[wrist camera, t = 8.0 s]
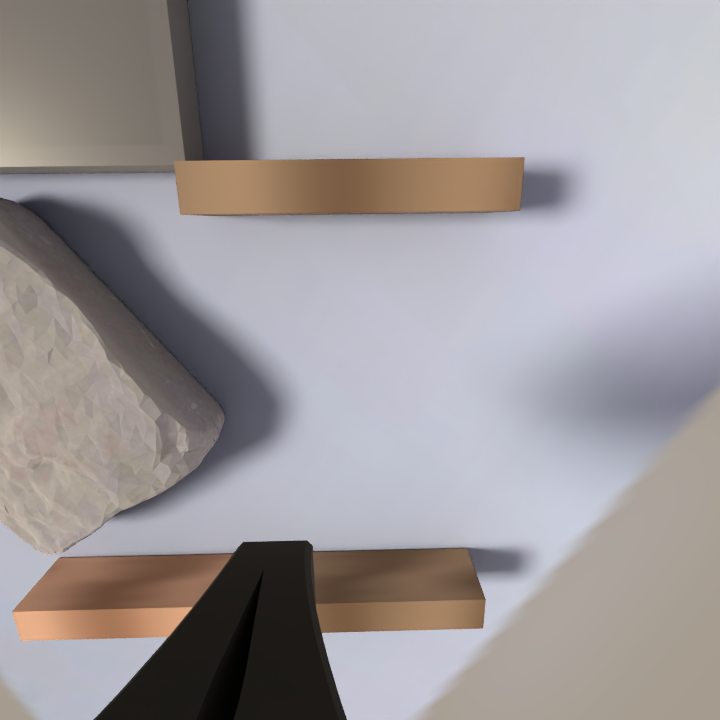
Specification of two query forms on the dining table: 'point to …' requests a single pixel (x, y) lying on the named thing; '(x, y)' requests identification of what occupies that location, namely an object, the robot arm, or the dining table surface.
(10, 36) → the tray
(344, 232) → the dining table surface
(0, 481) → the stone block
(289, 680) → the robot arm
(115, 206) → the dining table surface
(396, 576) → the pair of wooden bars
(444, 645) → the dining table surface
